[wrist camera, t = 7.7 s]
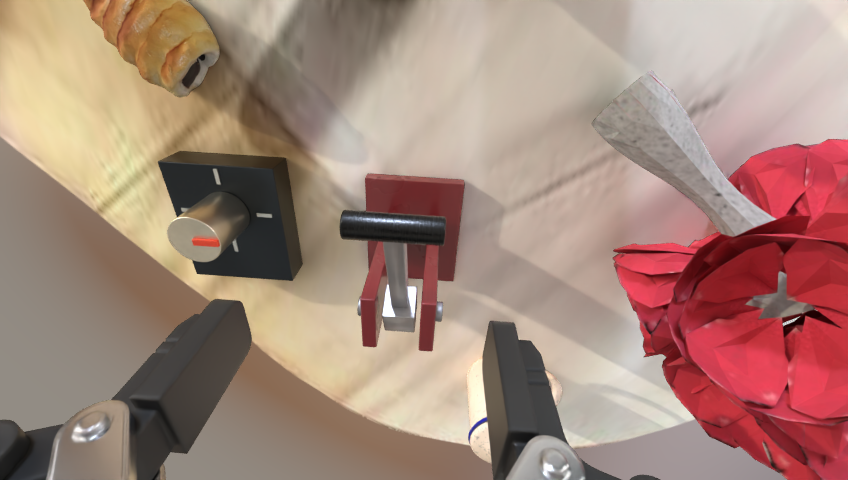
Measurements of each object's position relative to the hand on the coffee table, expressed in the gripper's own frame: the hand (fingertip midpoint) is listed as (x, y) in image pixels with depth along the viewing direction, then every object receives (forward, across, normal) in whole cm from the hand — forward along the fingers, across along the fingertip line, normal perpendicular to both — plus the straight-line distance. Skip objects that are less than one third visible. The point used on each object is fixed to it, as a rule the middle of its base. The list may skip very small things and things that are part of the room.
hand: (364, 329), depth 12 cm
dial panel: (+23, +17, +8) cm, 30 cm away
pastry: (+23, +20, -7) cm, 31 cm away
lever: (+10, 0, +4) cm, 11 cm away
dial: (+20, +17, +7) cm, 27 cm away
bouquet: (+23, -26, +4) cm, 35 cm away
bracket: (+23, 0, +9) cm, 25 cm away
